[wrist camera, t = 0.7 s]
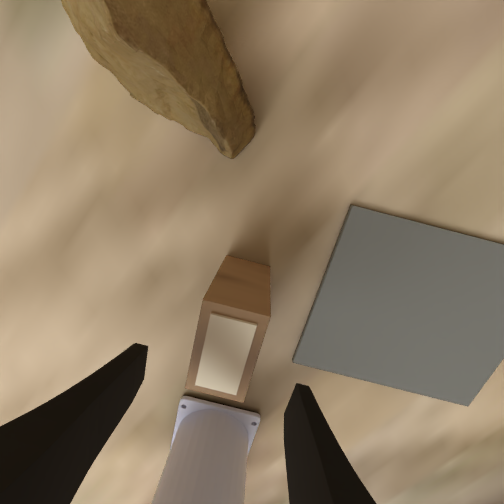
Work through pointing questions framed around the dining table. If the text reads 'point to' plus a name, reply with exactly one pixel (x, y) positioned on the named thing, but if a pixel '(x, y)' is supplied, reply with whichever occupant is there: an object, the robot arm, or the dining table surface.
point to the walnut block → (230, 329)
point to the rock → (170, 63)
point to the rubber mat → (408, 308)
